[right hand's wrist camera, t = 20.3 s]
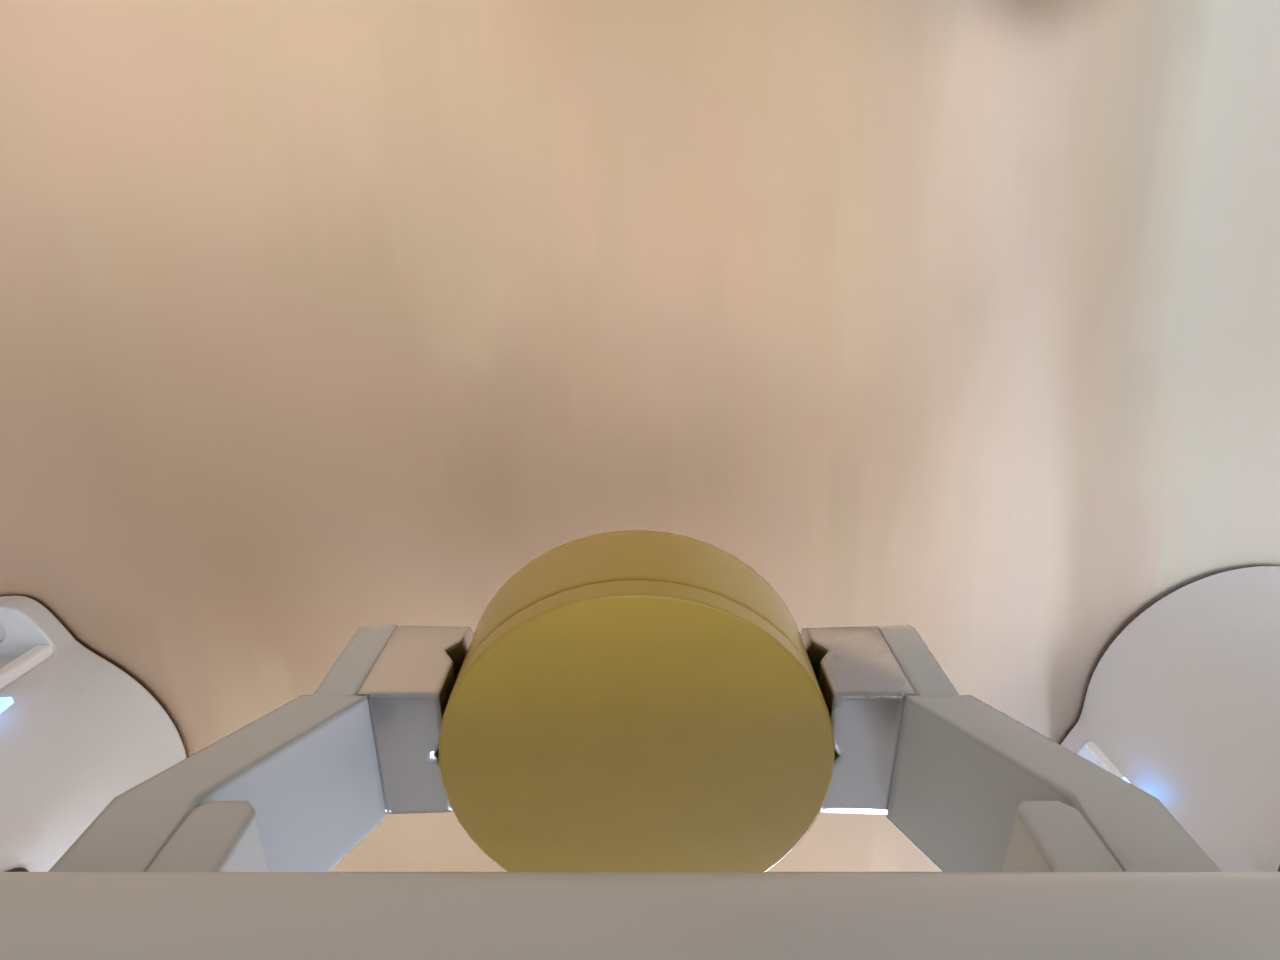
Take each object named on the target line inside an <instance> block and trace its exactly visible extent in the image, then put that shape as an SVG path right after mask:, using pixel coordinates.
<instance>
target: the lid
mask: <svg viewBox="0 0 1280 960" xmlns="http://www.w3.org/2000/svg"><path fill="white" fill-rule="evenodd" d="M834 757H835V745H834V733H833V727H832V723H831V719H830V715H829V711H828V708H827V705H826V702H825V700H824V697H823V694H822V692H821V690H820V686H819V684H818V681H817V678H816V676H815V673H814V670H813V668H812V665H811V662H810V659H809V657H808V654H807V651H806V649H805V646H804V643H803V641H802V638H801V635H800V633H799V630H798V628H797V626H796V623H795V621H794V619H793V616H792V615H791V613H790V611H789V610H788V608H787V607H786V605H785V603H784V602H783V600H782V599H781V597H780V596H779V595H778V594H777V593H776V591H775V590H774V589H773V588H772V587H771V586H770V584H769V583H768V582H767V581H766V580H765V579H763V578H762V577H761V576H760V575H759V574H758V573H757V572H756V571H754V570H753V569H752V568H751V567H749V566H748V565H746V564H745V563H743V562H742V561H740V560H739V559H737V558H736V557H734V556H733V555H731V554H729V553H727V552H725V551H723V550H721V549H719V548H717V547H715V546H713V545H710V544H707V543H704V542H701V541H698V540H695V539H693V538H690V537H685V536H680V535H676V534H671V533H666V532H655V531H645V530H639V531H617V532H610V533H603V534H596V535H593V536H589V537H585V538H582V539H578V540H574V541H572V542H569V543H567V544H564V545H562V546H560V547H557V548H555V549H552V550H550V551H549V552H547V553H545V554H543V555H542V556H540V557H538V558H536V559H535V560H533V561H531V562H530V563H529V564H528V565H526V566H525V567H524V568H522V569H521V570H520V571H518V572H517V573H516V574H514V576H513V577H512V578H511V579H510V580H509V581H508V582H507V583H506V584H505V585H504V586H503V587H502V588H501V589H500V590H499V591H498V592H497V594H496V595H495V597H494V598H493V599H492V601H491V602H490V603H489V605H488V606H487V608H486V610H485V612H484V614H483V616H482V617H481V619H480V621H479V623H478V626H477V628H476V631H475V633H474V636H473V638H472V641H471V644H470V646H469V649H468V651H467V654H466V656H465V659H464V661H463V664H462V667H461V669H460V672H459V674H458V677H457V680H456V682H455V685H454V687H453V690H452V692H451V695H450V697H449V700H448V703H447V706H446V709H445V712H444V715H443V718H442V723H441V729H440V735H439V765H440V771H441V778H442V783H443V786H444V789H445V792H446V795H447V798H448V801H449V803H450V805H451V807H452V809H453V811H454V813H455V815H456V817H457V819H458V821H459V822H460V824H461V825H462V826H463V828H464V829H465V831H466V832H467V834H468V835H469V836H470V838H471V839H472V840H473V841H474V842H475V843H476V844H477V845H478V846H479V847H480V849H481V850H482V851H483V852H484V853H485V854H486V855H487V856H489V857H490V858H491V859H492V860H493V861H495V862H496V863H497V864H498V865H499V866H501V867H502V868H503V869H505V870H506V871H508V872H766V871H768V870H769V869H770V868H772V867H773V866H774V865H776V864H777V863H778V862H780V861H781V860H782V859H783V858H784V857H785V856H786V855H787V854H788V853H789V852H790V851H792V850H793V849H794V848H795V847H796V846H797V844H798V843H799V842H800V841H801V839H802V838H803V837H804V836H805V835H806V833H807V832H808V831H809V829H810V828H811V826H812V824H813V823H814V821H815V820H816V818H817V816H818V815H819V813H820V811H821V808H822V806H823V804H824V801H825V799H826V797H827V794H828V791H829V787H830V783H831V779H832V775H833V769H834Z"/></svg>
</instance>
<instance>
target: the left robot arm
mask: <svg viewBox="0 0 1280 960" xmlns="http://www.w3.org/2000/svg"><path fill="white" fill-rule="evenodd" d="M1061 745H1062V746H1063V747H1065V748H1067V749H1069V750H1071V751H1072V752H1074V753H1076V754H1078V755H1080V756H1082V757H1083V758H1085V759H1087V760H1089V761H1091V762H1092V763H1094V764H1096V765H1098V766H1100V767H1101V768H1103V769H1105V770H1107V771H1109V772H1111V773H1112V774H1114V775H1116V776H1118V777H1120V778H1121V779H1123V780H1125V781H1127V782H1129V783H1130V784H1132V785H1134V786H1136V787H1138V788H1140V789H1141V790H1143V791H1145V792H1147V793H1149V794H1150V795H1152V796H1154V797H1156V798H1158V799H1159V800H1160V801H1161V803H1162V804H1163V805H1164V806H1165V807H1166V808H1167V809H1168V811H1169V812H1170V813H1171V814H1172V815H1173V816H1174V817H1175V819H1176V820H1177V821H1178V822H1179V823H1180V824H1181V825H1182V827H1183V828H1184V829H1185V830H1186V831H1187V832H1188V834H1189V835H1190V836H1191V837H1192V838H1193V839H1194V840H1195V842H1196V843H1197V844H1198V845H1199V846H1200V847H1201V848H1202V850H1203V851H1204V852H1205V853H1206V854H1207V855H1208V856H1209V858H1210V859H1211V860H1212V861H1213V862H1214V863H1215V864H1216V866H1217V867H1218V868H1219V869H1220V870H1221V871H1222V872H1280V566H1255V567H1246V568H1239V569H1234V570H1229V571H1225V572H1221V573H1218V574H1214V575H1211V576H1208V577H1205V578H1202V579H1200V580H1197V581H1195V582H1192V583H1190V584H1188V585H1186V586H1184V587H1182V588H1180V589H1178V590H1176V591H1174V592H1172V593H1170V594H1169V595H1167V596H1165V597H1164V598H1162V599H1160V600H1159V601H1157V602H1156V603H1154V604H1153V605H1152V606H1150V607H1149V608H1147V609H1146V610H1145V611H1144V612H1142V613H1141V614H1140V615H1139V616H1137V617H1136V618H1135V619H1134V620H1133V621H1132V622H1131V623H1130V624H1129V625H1128V626H1127V627H1126V628H1125V629H1124V630H1123V631H1122V632H1121V633H1120V634H1119V635H1118V636H1117V637H1116V638H1115V640H1114V641H1113V642H1112V643H1111V645H1110V646H1109V647H1108V649H1107V650H1106V652H1105V653H1104V655H1103V656H1102V658H1101V660H1100V661H1099V663H1098V665H1097V667H1096V669H1095V671H1094V673H1093V675H1092V678H1091V680H1090V683H1089V686H1088V689H1087V693H1086V697H1085V701H1084V706H1083V710H1082V713H1081V716H1080V718H1079V720H1078V722H1077V724H1076V725H1075V726H1074V727H1073V729H1072V730H1071V731H1070V733H1069V734H1068V735H1067V737H1066V738H1065V739H1064V740H1063V742H1062V743H1061Z"/></svg>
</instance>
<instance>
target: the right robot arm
mask: <svg viewBox="0 0 1280 960" xmlns="http://www.w3.org/2000/svg"><path fill="white" fill-rule="evenodd" d="M473 636H474V634H473V632H472V630H471V628H470V627H433V626H400V627H399V626H397V625H389V626H364V627H361V628H359V629H358V630H357V631H356V633H355V634H354V635H353V637H352V638H351V640H350V641H349V643H348V644H347V646H346V647H345V649H344V650H343V652H342V653H341V655H340V656H339V658H338V659H337V661H336V662H335V664H334V665H333V667H332V668H331V669H330V671H329V672H328V674H327V675H326V677H325V678H324V680H323V681H322V683H321V684H320V686H319V687H318V689H317V690H316V692H315V693H314V695H302V696H300V697H298V698H296V699H294V700H293V701H291V702H289V703H287V704H285V705H283V706H282V707H280V708H278V709H276V710H274V711H272V712H270V713H269V714H267V715H265V716H263V717H261V718H259V719H258V720H256V721H254V722H252V723H250V724H248V725H247V726H245V727H243V728H241V729H239V730H237V731H236V732H234V733H232V734H230V735H228V736H226V737H225V738H223V739H221V740H219V741H217V742H215V743H214V744H212V745H210V746H208V747H206V748H204V749H203V750H201V751H199V752H197V753H195V754H193V755H192V756H190V757H188V758H187V756H186V752H185V748H184V745H183V743H182V740H181V737H180V735H179V733H178V731H177V729H176V727H175V725H174V723H173V722H172V720H171V719H170V717H169V716H168V714H167V713H166V711H165V710H164V709H163V707H162V706H161V705H160V704H159V703H158V701H157V700H156V699H155V698H154V697H153V696H152V695H151V694H150V693H149V692H148V691H147V690H146V689H145V688H144V687H143V686H142V685H141V684H140V683H138V682H137V681H136V680H135V679H134V678H132V677H131V676H130V675H128V674H127V673H126V672H124V671H123V670H121V669H120V668H118V667H117V666H115V665H114V664H112V663H110V662H109V661H107V660H105V659H104V658H102V657H100V656H99V655H97V654H95V653H93V652H92V651H90V650H89V649H87V648H86V647H84V646H83V645H82V644H80V643H79V642H78V641H76V640H75V638H74V637H73V636H72V635H71V634H70V633H69V632H68V630H67V629H66V628H65V627H64V626H63V625H62V624H61V623H60V621H59V620H58V619H57V618H56V617H55V616H54V615H53V614H52V613H51V612H50V611H49V610H48V609H46V608H45V607H44V606H43V605H42V604H40V603H39V602H37V601H35V600H33V599H31V598H29V597H25V596H16V595H15V596H0V960H1280V872H1222V871H1221V870H1220V869H1219V868H1218V867H1217V866H1216V864H1215V863H1214V862H1213V861H1212V860H1211V859H1210V858H1209V856H1208V855H1207V854H1206V853H1205V852H1204V851H1203V850H1202V848H1201V847H1200V846H1199V845H1198V844H1197V843H1196V842H1195V840H1194V839H1193V838H1192V837H1191V836H1190V835H1189V834H1188V832H1187V831H1186V830H1185V829H1184V828H1183V827H1182V825H1181V824H1180V823H1179V822H1178V821H1177V820H1176V819H1175V817H1174V816H1173V815H1172V814H1171V813H1170V812H1169V811H1168V809H1167V808H1166V807H1165V806H1164V805H1163V804H1162V803H1161V801H1160V800H1159V799H1158V798H1156V797H1154V796H1152V795H1150V794H1149V793H1147V792H1145V791H1143V790H1141V789H1140V788H1138V787H1136V786H1134V785H1132V784H1130V783H1129V782H1127V781H1125V780H1123V779H1121V778H1120V777H1118V776H1116V775H1114V774H1112V773H1111V772H1109V771H1107V770H1105V769H1103V768H1101V767H1100V766H1098V765H1096V764H1094V763H1092V762H1091V761H1089V760H1087V759H1085V758H1083V757H1082V756H1080V755H1078V754H1076V753H1074V752H1072V751H1071V750H1069V749H1067V748H1065V747H1063V746H1062V745H1060V744H1058V743H1056V742H1054V741H1053V740H1051V739H1049V738H1047V737H1045V736H1043V735H1042V734H1040V733H1038V732H1036V731H1034V730H1033V729H1031V728H1029V727H1027V726H1025V725H1024V724H1022V723H1020V722H1018V721H1016V720H1014V719H1013V718H1011V717H1009V716H1007V715H1005V714H1004V713H1002V712H1000V711H998V710H996V709H995V708H993V707H991V706H989V705H987V704H985V703H984V702H982V701H980V700H978V699H976V698H975V697H973V696H971V695H959V694H958V692H957V691H956V689H955V688H954V686H953V685H952V683H951V682H950V680H949V679H948V677H947V676H946V674H945V673H944V671H943V670H942V668H941V667H940V665H939V664H938V662H937V661H936V659H935V658H934V656H933V655H932V653H931V652H930V650H929V649H928V647H927V646H926V644H925V643H924V641H923V640H922V638H921V637H920V635H919V634H918V632H917V631H916V629H915V628H913V627H911V626H910V625H898V626H874V627H837V628H803V629H802V632H801V638H802V641H803V643H804V646H805V649H806V651H807V654H808V657H809V659H810V662H811V665H812V668H813V670H814V673H815V676H816V678H817V681H818V684H819V686H820V690H821V692H822V694H823V697H824V700H825V702H826V705H827V708H828V711H829V715H830V719H831V723H832V727H833V733H834V745H835V757H834V769H833V775H832V779H831V783H830V787H829V791H828V794H827V797H826V799H825V801H824V804H823V806H822V808H821V811H820V812H835V813H871V814H887V818H888V819H889V820H890V821H891V822H892V823H893V824H894V825H895V826H896V827H897V828H899V829H900V830H901V831H902V832H903V833H904V834H905V835H906V836H907V837H908V838H909V839H910V840H911V841H912V842H913V843H914V844H915V845H916V846H917V847H918V848H919V849H920V850H921V851H922V852H923V853H924V854H925V855H927V856H928V857H929V858H930V859H931V860H932V861H933V862H934V863H935V864H936V865H937V866H938V867H939V868H940V869H941V870H942V871H943V872H330V871H331V870H332V869H333V868H334V867H335V866H336V865H337V864H338V863H339V862H340V861H341V860H342V859H343V858H345V857H346V856H347V855H348V854H349V853H350V852H351V851H352V850H353V849H354V848H355V847H356V846H357V845H358V844H359V843H360V842H361V841H362V840H363V839H364V838H366V837H367V836H368V835H369V834H370V833H371V832H372V831H373V830H374V829H375V828H376V827H377V826H378V825H379V824H380V823H381V822H382V821H383V820H384V819H385V818H386V814H401V813H436V812H453V809H452V807H451V805H450V803H449V801H448V798H447V795H446V792H445V789H444V786H443V783H442V778H441V771H440V765H439V735H440V729H441V723H442V718H443V715H444V712H445V709H446V706H447V703H448V700H449V697H450V695H451V692H452V690H453V687H454V685H455V682H456V680H457V677H458V674H459V672H460V669H461V667H462V664H463V661H464V659H465V656H466V654H467V651H468V649H469V646H470V644H471V641H472V638H473Z"/></svg>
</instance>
